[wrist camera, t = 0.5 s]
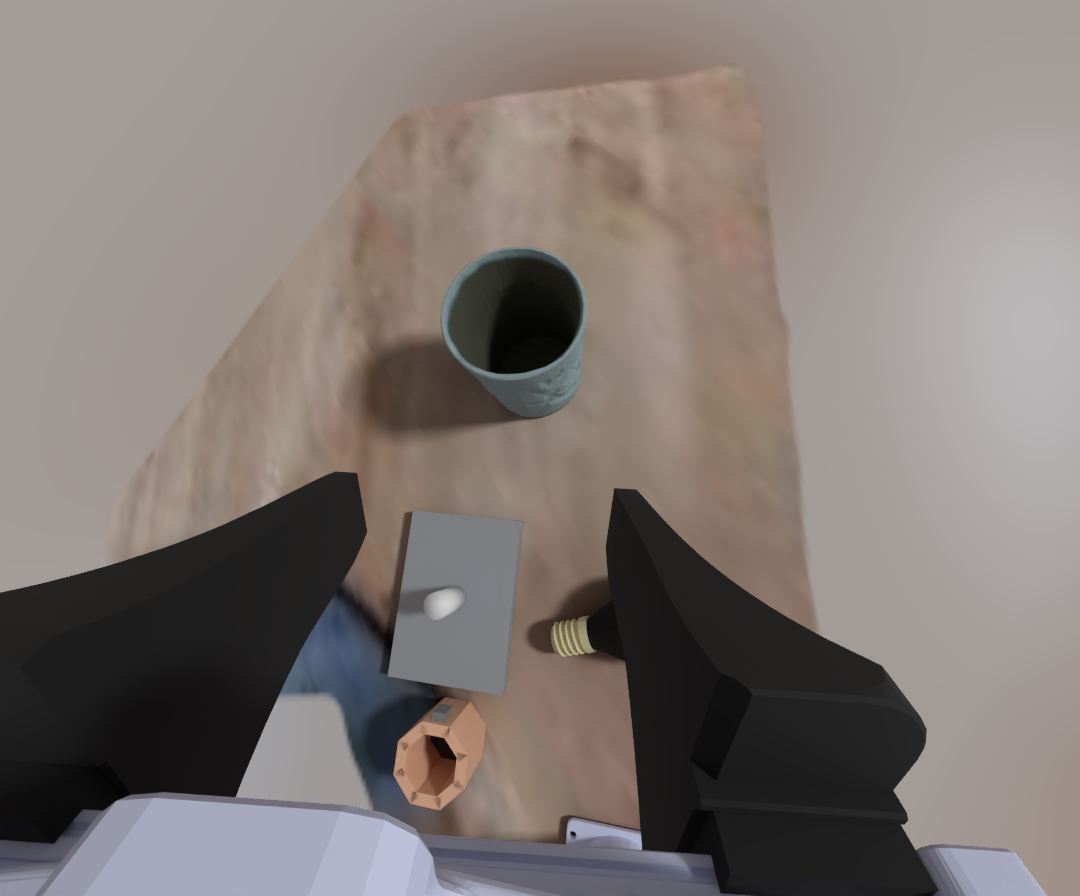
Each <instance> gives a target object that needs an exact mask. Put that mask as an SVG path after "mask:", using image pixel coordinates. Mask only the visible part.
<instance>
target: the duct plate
mask: <svg viewBox="0 0 1080 896" xmlns="http://www.w3.org/2000/svg"><path fill="white" fill-rule="evenodd" d="M522 526H523V521H514V520H504V519H494V518H484V517H474V516H464V515H454V514H444V513H434V512H424V511H414V510H413V513H412V519H411V526H410V533H409V539H408V546H407V552H406V559H405V566H404V572H403V579H402V585H401V592H400V599H399V605H398V612H397V618H396V625H395V632H394V638H393V645H392V651H391V658H390V664H389V671H388V676H390V677H396V678H401V679H407V680H413V681H419V682H425V683H431V684H436V685H442V686H448V687H454V688H460V689H466V690H471V691H477V692H483V693H489V694H495V695H501V696H502V695H503V693H504V691H505V688H506V678H507V669H508V659H509V650H510V640H511V631H512V621H513V612H514V602H515V593H516V583H517V574H518V564H519V554H520V545H521V535H522Z"/></svg>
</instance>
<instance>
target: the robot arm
mask: <svg viewBox="0 0 1080 896" xmlns="http://www.w3.org/2000/svg"><path fill="white" fill-rule="evenodd" d="M366 533H367V528H366V522H365V517H364V511H363V505H362V499H361V494H360V488H359V482H358V476H357V473H349V472H333V473H331V474H328V475H326V476H324V477H321V478H319V479H317V480H315V481H313V482H311V483H309V484H307V485H305V486H303V487H301V488H299V489H297V490H295V491H293V492H291V493H289V494H287V495H285V496H283V497H281V498H279V499H277V500H275V501H273V502H271V503H269V504H267V505H265V506H263V507H261V508H259V509H256V510H254V511H252V512H250V513H248V514H246V515H244V516H241V517H239V518H237V519H235V520H233V521H231V522H228V523H226V524H224V525H222V526H219V527H217V528H215V529H212V530H210V531H207V532H205V533H202V534H200V535H197V536H195V537H192V538H189V539H187V540H184V541H182V542H179V543H176V544H174V545H171V546H168V547H165V548H162V549H159V550H156V551H153V552H150V553H147V554H144V555H141V556H138V557H134V558H131V559H128V560H125V561H122V562H119V563H116V564H113V565H109V566H106V567H102V568H99V569H95V570H92V571H88V572H84V573H81V574H77V575H74V576H70V577H66V578H62V579H58V580H54V581H50V582H46V583H42V584H38V585H33V586H30V587H25V588H20V589H16V590H11V591H6V592H2V593H0V896H1047V895H1046V894H1045V893H1044V891H1043V890H1042V888H1041V887H1040V886H1039V884H1038V883H1037V882H1036V881H1035V879H1034V878H1033V876H1032V875H1031V874H1030V872H1029V871H1028V870H1027V868H1026V867H1025V865H1024V864H1023V863H1022V861H1021V860H1020V859H1019V857H1018V856H1017V855H1016V854H1015V853H1014V852H1012V851H1010V850H1008V849H1002V848H987V847H974V846H960V845H946V844H940V845H929V846H925V847H921V848H919V849H917V850H915V849H914V847H913V845H912V844H911V842H910V840H909V838H908V837H907V835H906V833H905V831H904V830H903V828H902V826H901V824H905V823H906V822H907V821H908V817H907V813H906V811H905V809H904V808H903V806H902V804H901V803H900V801H899V799H898V798H897V796H896V794H895V793H894V791H893V790H894V788H895V787H896V786H897V785H898V783H899V782H900V781H901V780H902V778H903V777H904V776H905V775H906V773H907V772H908V771H909V770H910V768H911V767H912V766H913V764H914V763H915V762H916V761H917V760H918V758H919V756H920V754H921V752H922V751H923V749H924V747H925V743H926V728H925V725H924V723H923V721H922V719H921V717H920V716H919V714H918V713H917V712H916V710H915V709H914V708H913V707H912V705H911V704H910V702H909V701H908V700H907V698H906V697H905V696H904V695H903V693H902V692H901V690H900V689H899V688H898V686H897V685H896V684H895V682H894V681H893V680H892V678H891V677H890V676H889V675H888V673H887V672H886V671H885V670H884V668H883V667H882V666H881V665H879V664H877V663H875V662H873V661H871V660H869V659H867V658H865V657H863V656H860V655H858V654H856V653H854V652H852V651H850V650H848V649H846V648H844V647H842V646H840V645H838V644H836V643H834V642H832V641H829V640H827V639H826V638H823V637H822V636H820V635H818V634H816V633H814V632H813V631H811V630H809V629H807V628H805V627H804V626H802V625H800V624H798V623H796V622H795V621H793V620H791V619H789V618H788V617H786V616H784V615H783V614H781V613H779V612H778V611H776V610H774V609H773V608H771V607H769V606H768V605H766V604H765V603H763V602H762V601H760V600H759V599H757V598H756V597H754V596H753V595H751V594H750V593H748V592H747V591H745V590H744V589H742V588H741V587H740V586H738V585H737V584H735V583H734V582H733V581H731V580H730V579H729V578H727V577H726V576H725V575H724V574H722V573H721V572H720V571H718V570H717V569H716V568H715V567H713V566H712V565H711V564H710V563H708V562H707V561H706V560H705V559H704V558H702V557H701V556H700V555H699V554H698V553H697V552H696V551H695V550H694V549H693V548H691V547H690V546H689V545H688V544H687V543H686V542H685V541H684V540H683V539H682V538H681V537H680V536H679V535H678V534H677V533H676V532H675V531H674V530H673V529H672V528H671V527H670V526H669V525H668V524H667V523H666V522H665V521H664V520H663V519H662V518H661V517H660V515H659V514H658V513H657V512H656V511H655V510H654V509H653V508H652V507H651V505H650V504H649V503H648V502H647V501H646V500H645V499H644V497H643V496H642V495H641V494H640V493H639V492H638V491H637V490H633V489H617V488H614V495H613V501H612V508H611V515H610V522H609V529H608V535H607V542H606V556H607V569H608V580H609V585H610V590H611V595H612V599H613V604H614V609H615V614H616V619H617V623H618V628H619V633H620V638H621V642H622V647H623V652H624V658H625V664H626V670H627V679H628V689H629V698H630V707H631V718H632V728H633V739H634V750H635V762H636V774H637V786H638V798H639V812H640V827H641V831H636V830H631V829H627V828H622V827H617V826H613V825H608V824H603V823H599V822H594V821H589V820H585V819H580V818H575V817H572V818H570V819H569V820H568V823H567V833H566V844H552V843H538V842H525V841H511V840H497V839H484V838H470V837H456V836H442V835H429V834H418V833H417V831H416V830H415V829H414V828H413V827H411V826H409V825H407V824H405V823H403V822H401V821H399V820H397V819H395V818H393V817H391V816H389V815H387V814H385V813H381V812H376V811H371V810H366V809H361V808H356V807H351V806H347V805H334V804H320V803H305V802H292V801H278V800H263V799H249V798H236V795H237V792H238V789H239V787H240V784H241V782H242V779H243V776H244V774H245V772H246V769H247V767H248V765H249V762H250V759H251V757H252V755H253V753H254V750H255V748H256V746H257V743H258V741H259V738H260V736H261V733H262V731H263V729H264V727H265V724H266V722H267V720H268V718H269V715H270V713H271V711H272V709H273V707H274V705H275V702H276V700H277V698H278V696H279V694H280V692H281V689H282V687H283V685H284V683H285V681H286V679H287V677H288V675H289V673H290V671H291V669H292V667H293V665H294V663H295V661H296V659H297V656H298V654H299V652H300V650H301V648H302V647H303V645H304V643H305V641H306V640H307V638H308V636H309V634H310V633H311V631H312V629H313V628H314V626H315V625H316V623H317V621H318V620H319V618H320V617H321V615H322V613H323V612H324V610H325V609H326V607H327V605H328V604H329V602H330V601H331V599H332V597H333V596H334V594H335V593H336V591H337V589H338V588H339V586H340V585H341V583H342V581H343V580H344V578H345V576H346V575H347V573H348V572H349V570H350V568H351V566H352V565H353V563H354V561H355V559H356V557H357V555H358V552H359V550H360V548H361V545H362V543H363V541H364V538H365V536H366ZM571 831H574V832H575V833H576V835H575V836H573V835H571V833H570V832H571Z"/></svg>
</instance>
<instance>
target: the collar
mask: <svg viewBox="0 0 1080 896" xmlns="http://www.w3.org/2000/svg"><path fill="white" fill-rule="evenodd" d="M485 731H486V724H485V723H484V721H483V720H482V718H481V717H480V715H479V714H478V712H477V711H476V709H475V708H474V706H473V705H472V703H471V702H470V701H465V700H460V699H454V698H448V697H445V698H443V699H442V700H441V701H440V702H439V703H438V704H436V705H435V706H434V707H433V708H432V709H430V710H429V711H428V712H427V713H426V714H425V715H424V716H423V717H422V718H421V719H420V720H419V721H418V722H417V723H416V724H415V725H414V726H413V727H412V728H411V729H410V730H409V731H408V732H407V733H406V734H405V735H404V736H403V737H402V738H401V739H400V740H399V741H398V747H397V754H396V761H395V767H394V774H393V775H394V777H395V778H396V780H397V782H398V783H399V785H400V787H401V789H402V790H403V792H404V794H405V795H406V797H407V799H408V801H409V802H410V804H414V805H419V806H423V807H428V808H432V809H436V810H441V809H442V808H443V807H444V806H445V805H446V804H448V803H449V802H450V801H451V800H452V799H453V798H455V797H456V796H457V795H458V794H459V793H461V792H462V791H463V790H464V789H465V787H466V785H467V783H468V781H469V779H470V778H471V776H472V774H473V772H474V770H475V768H476V767H477V765H478V763H479V761H480V759H481V758H482V756H483V749H484V740H485ZM431 736H436V737H441V738H445V740H446V742H447V743H448V745H449V746H450V748H451V750H452V751H453V753H454V754H455V756H456V758H457V760H451V759H446V758H441V756H440V755H439V753H438V751H437V750H436V748H435V747H434V745H433V743H432V742H431Z"/></svg>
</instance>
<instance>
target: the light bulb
mask: <svg viewBox="0 0 1080 896" xmlns="http://www.w3.org/2000/svg"><path fill="white" fill-rule="evenodd" d="M551 642H552V646H553V649H554V651H555V652H556V654H561V655H562V656H563V657H566V656H567V655H569V656H572V655H573V654H574V655H578V654H579V653H580V654H584V653H585V651H586V653H593V652H596V651H597V650H598V651H602V652H605V653H607V654H610V655H612V656H614V657H617V658H619V659H622V660H624V661H625V658H624V652H623V647H622V642H621V638H620V633H619V628H618V623H617V619H616V614H615V609H614V604H613V599H612V600H611V601H610V602H609V603H607V604H606V605H605V606H604V607H603V608H602V609H600V610H599V611H598V612H597V613H595V614H594V615H593V616H591V617H590V616H583V617H579V618H578V621H576V619H574V618H573V619H572V622H571V621H570V620H569V619H568V620H566V623H565V621H563V620H562V621H561V622H560V624H559V622H557V621H556V622H555V624H554V626H552V629H551Z"/></svg>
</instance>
